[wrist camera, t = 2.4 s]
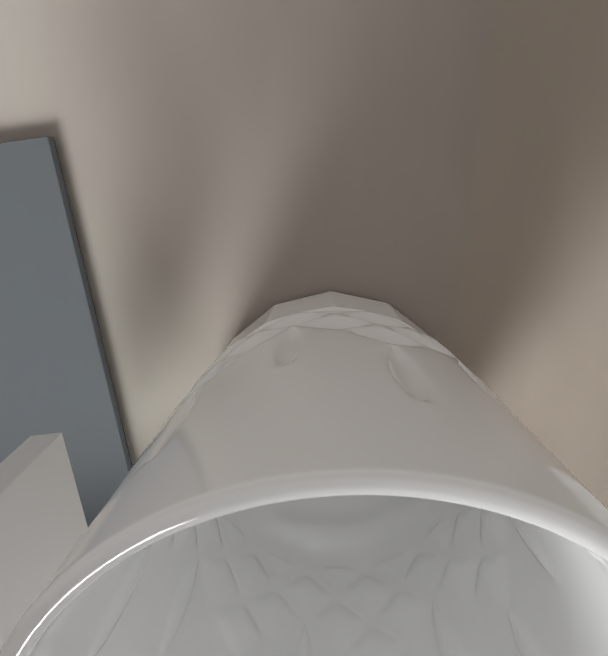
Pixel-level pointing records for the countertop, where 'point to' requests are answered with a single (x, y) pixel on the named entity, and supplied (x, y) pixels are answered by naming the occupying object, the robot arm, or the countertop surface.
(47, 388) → the mat
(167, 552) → the white cup
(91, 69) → the countertop surface
